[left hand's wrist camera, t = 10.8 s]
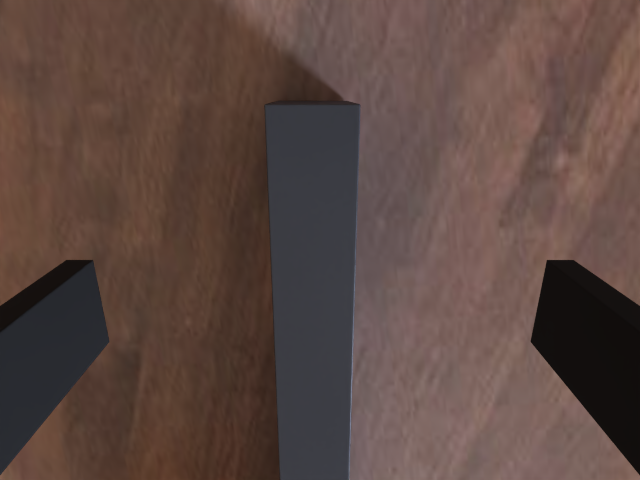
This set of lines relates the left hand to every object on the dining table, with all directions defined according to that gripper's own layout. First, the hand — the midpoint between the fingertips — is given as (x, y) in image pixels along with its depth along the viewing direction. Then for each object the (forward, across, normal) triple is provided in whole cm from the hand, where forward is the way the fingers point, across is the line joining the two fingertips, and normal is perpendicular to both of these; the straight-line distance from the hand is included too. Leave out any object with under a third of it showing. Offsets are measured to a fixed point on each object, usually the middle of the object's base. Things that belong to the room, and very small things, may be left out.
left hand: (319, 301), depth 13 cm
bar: (+20, 0, -22) cm, 30 cm away
